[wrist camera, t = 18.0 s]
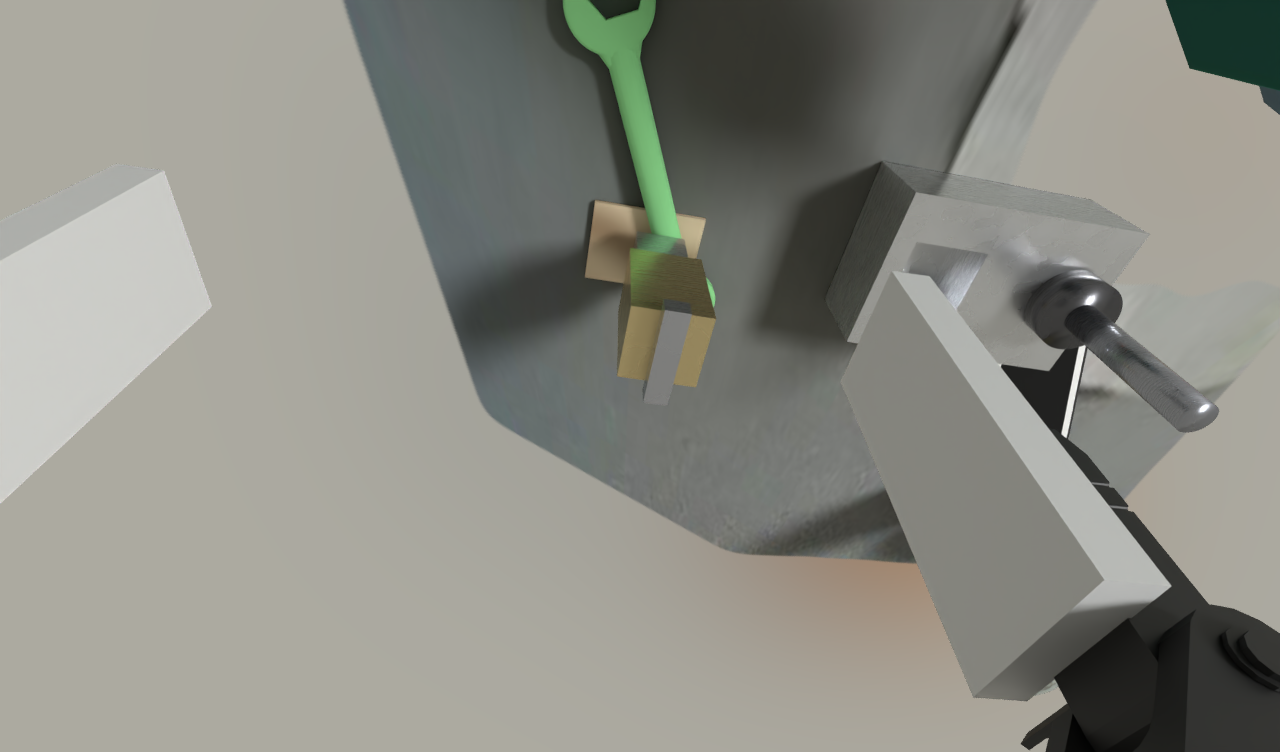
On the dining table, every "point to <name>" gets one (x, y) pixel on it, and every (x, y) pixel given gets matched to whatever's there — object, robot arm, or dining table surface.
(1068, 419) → the cell phone
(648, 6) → the wrench
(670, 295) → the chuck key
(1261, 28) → the power tool
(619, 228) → the key mat
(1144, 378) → the block
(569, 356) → the dining table surface
